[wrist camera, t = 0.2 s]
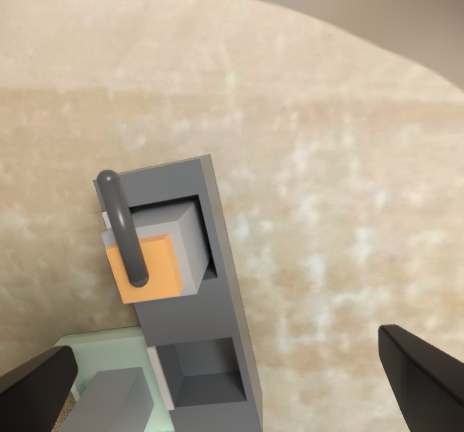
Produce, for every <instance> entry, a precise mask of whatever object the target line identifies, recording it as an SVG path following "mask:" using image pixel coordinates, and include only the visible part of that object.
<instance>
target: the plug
mask: <svg viewBox="0 0 464 432" xmlns="http://www.w3.org/2000/svg"><path fill="white" fill-rule="evenodd" d="M153 407H154V401H153V398H152V396H151V393H150V390H149V387H148V384H147V381H146V378H145V375H144V372H143V369H142V367H134V368H125V369H115V370H106V371H98V372H97V373H96V375H95V376H94V378H93V379H92V380H91V382H90V383H89V385H88V386H87V388H86V389H85V391H84V392H83V394H82V395H81V397H80V398H79V400H78V401H77V403H76V404H75V406H74V407H73V409H72V410H71V412H70V413H69V415H68V416H67V418H66V419H65V421H64V422H63V424H62V425H61V427H60V428H59V430H58V431H57V432H144V431H145V428H146V425H147V423H148V420H149V418H150V415H151V412H152V410H153Z"/></svg>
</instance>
